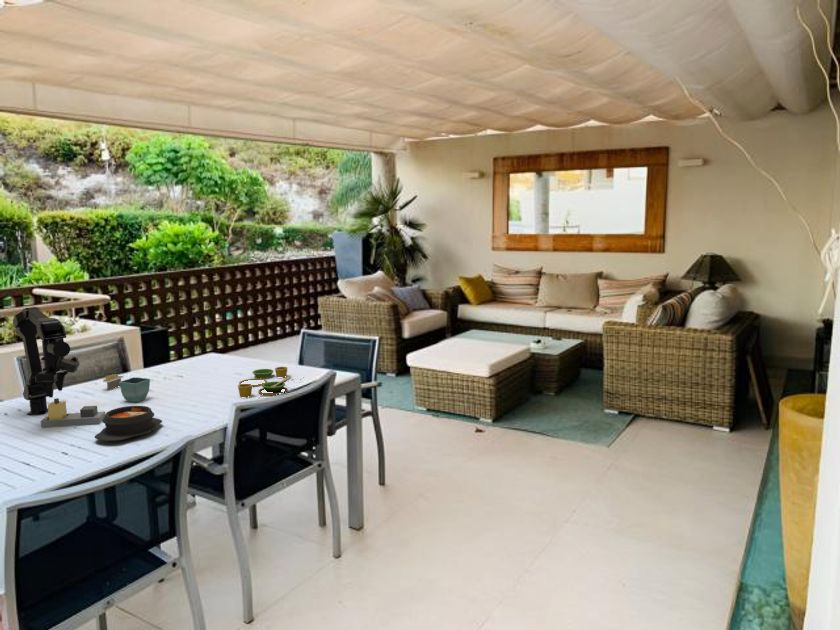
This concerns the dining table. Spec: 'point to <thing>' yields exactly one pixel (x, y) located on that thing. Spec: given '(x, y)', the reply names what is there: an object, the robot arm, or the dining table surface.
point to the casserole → (127, 423)
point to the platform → (112, 381)
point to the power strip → (76, 418)
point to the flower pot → (135, 389)
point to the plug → (57, 409)
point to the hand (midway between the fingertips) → (55, 393)
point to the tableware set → (268, 386)
